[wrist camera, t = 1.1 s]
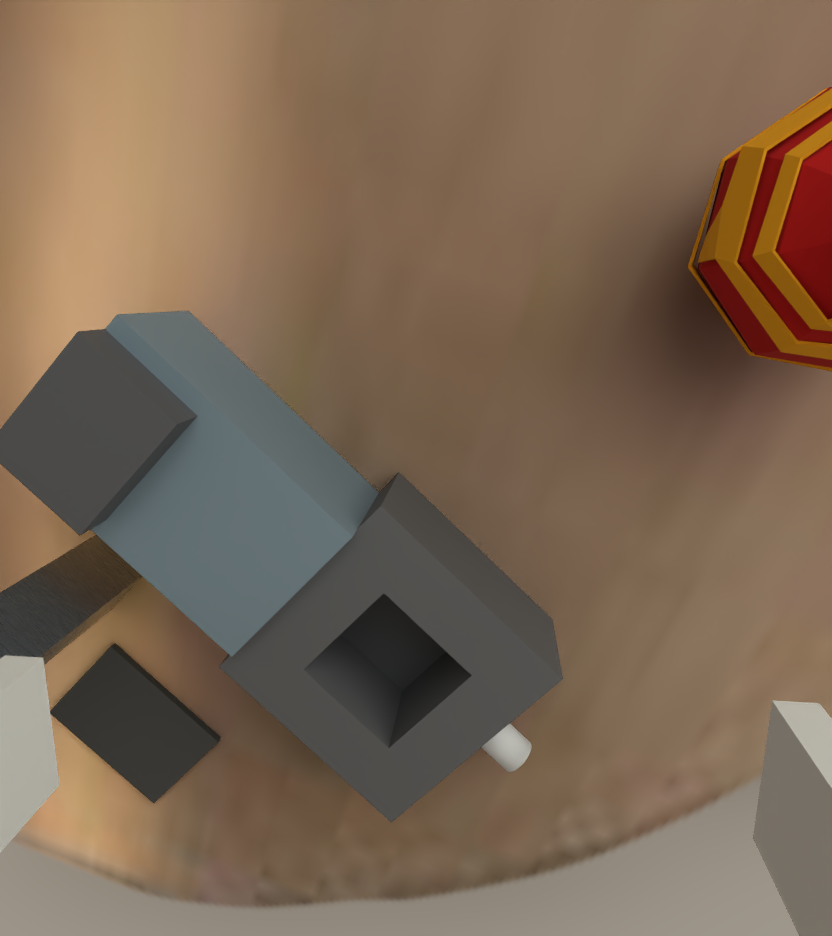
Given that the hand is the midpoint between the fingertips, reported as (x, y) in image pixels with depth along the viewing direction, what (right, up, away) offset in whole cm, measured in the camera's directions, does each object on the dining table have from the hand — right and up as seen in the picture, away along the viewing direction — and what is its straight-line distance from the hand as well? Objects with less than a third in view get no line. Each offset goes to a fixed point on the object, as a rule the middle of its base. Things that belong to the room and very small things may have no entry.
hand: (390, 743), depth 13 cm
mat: (-16, -10, +29) cm, 34 cm away
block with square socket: (-5, +1, +25) cm, 25 cm away
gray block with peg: (-16, -1, +27) cm, 31 cm away
